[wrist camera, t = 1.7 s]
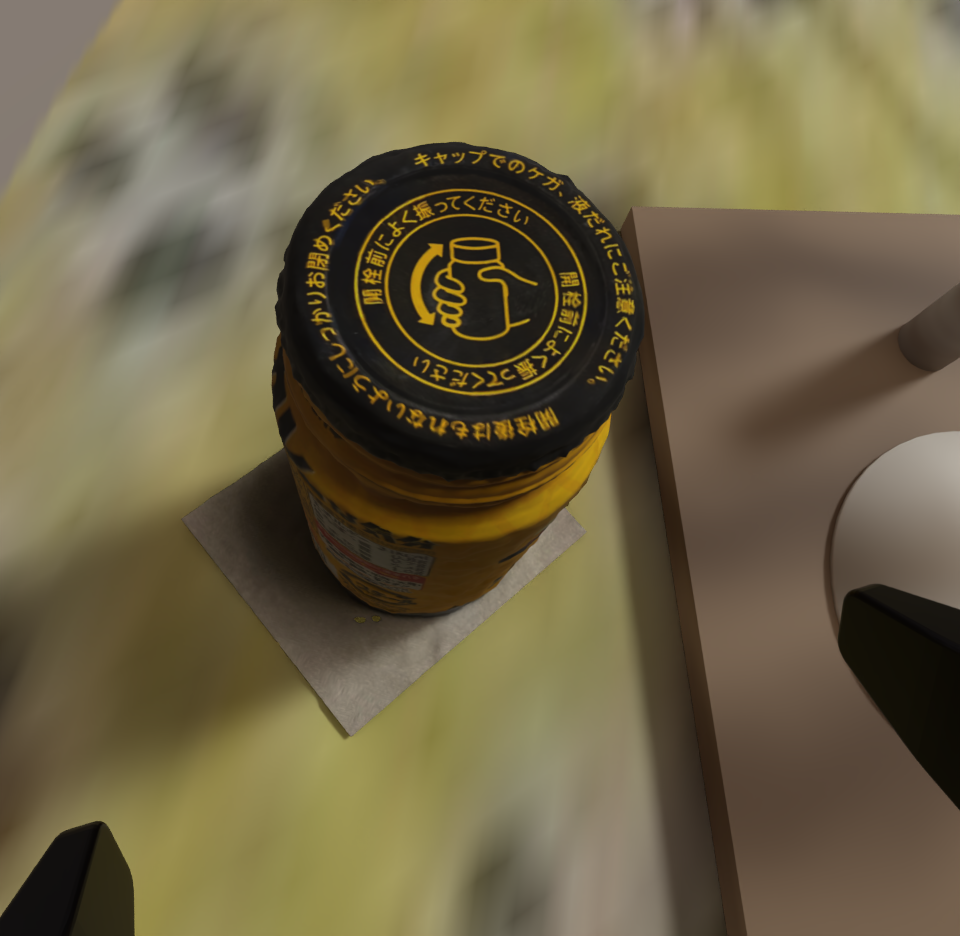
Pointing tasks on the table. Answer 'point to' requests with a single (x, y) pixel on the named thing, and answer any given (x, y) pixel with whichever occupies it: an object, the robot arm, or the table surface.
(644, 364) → the locating plate
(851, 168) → the table surface
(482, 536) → the condiment
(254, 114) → the table surface
